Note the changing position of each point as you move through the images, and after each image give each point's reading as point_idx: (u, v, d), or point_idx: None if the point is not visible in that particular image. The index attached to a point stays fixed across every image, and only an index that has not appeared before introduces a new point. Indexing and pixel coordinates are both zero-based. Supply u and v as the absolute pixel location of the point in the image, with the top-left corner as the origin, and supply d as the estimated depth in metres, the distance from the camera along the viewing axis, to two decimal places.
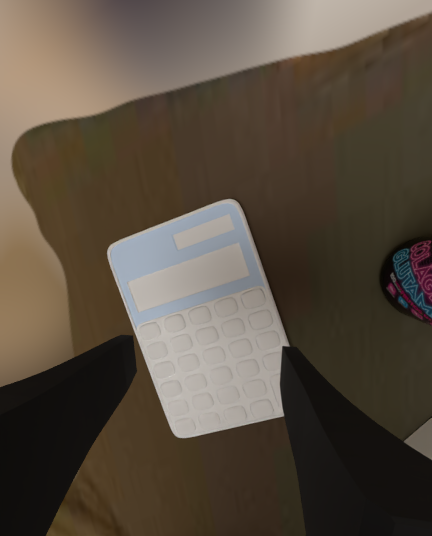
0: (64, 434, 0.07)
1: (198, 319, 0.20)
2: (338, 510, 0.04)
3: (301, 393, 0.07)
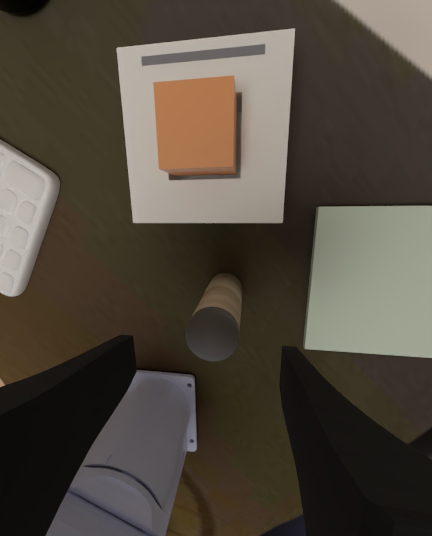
0: (64, 434, 0.07)
1: None
2: (338, 510, 0.04)
3: (301, 393, 0.07)
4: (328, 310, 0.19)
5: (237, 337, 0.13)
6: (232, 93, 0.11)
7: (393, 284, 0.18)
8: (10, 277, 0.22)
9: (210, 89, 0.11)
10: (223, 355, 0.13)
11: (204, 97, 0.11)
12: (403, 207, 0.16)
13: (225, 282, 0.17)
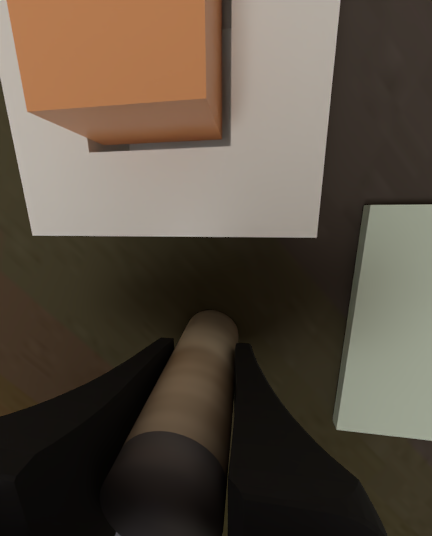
0: (124, 442, 0.07)
1: None
2: None
3: (236, 387, 0.08)
4: (378, 374, 0.12)
5: (220, 522, 0.05)
6: None
7: None
8: None
9: None
10: None
11: None
12: None
13: (207, 337, 0.10)
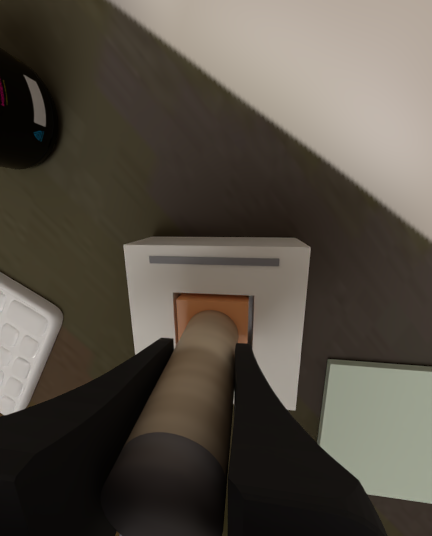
0: (124, 442, 0.07)
1: None
2: None
3: (236, 387, 0.08)
4: (339, 455, 0.18)
5: (220, 521, 0.05)
6: (247, 315, 0.13)
7: (407, 438, 0.17)
8: (11, 402, 0.21)
9: (227, 310, 0.13)
10: None
11: None
12: (418, 372, 0.16)
13: (207, 337, 0.10)
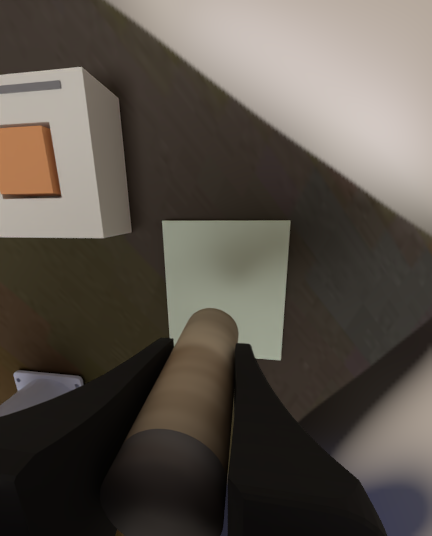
0: None
1: None
2: None
3: (236, 387, 0.08)
4: (185, 316, 0.20)
5: (220, 516, 0.05)
6: (42, 138, 0.14)
7: (236, 292, 0.19)
8: None
9: (26, 135, 0.15)
10: None
11: (23, 141, 0.15)
12: (233, 222, 0.18)
13: (206, 334, 0.10)
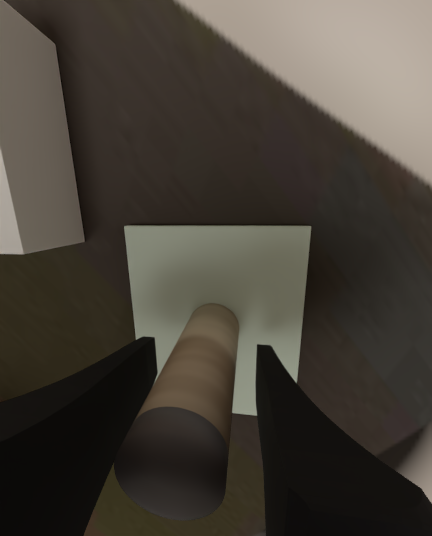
0: (96, 438, 0.07)
1: None
2: (278, 501, 0.04)
3: (265, 390, 0.07)
4: (161, 357, 0.15)
5: (222, 482, 0.06)
6: None
7: None
8: None
9: None
10: (196, 512, 0.06)
11: None
12: (226, 228, 0.12)
13: (208, 327, 0.11)
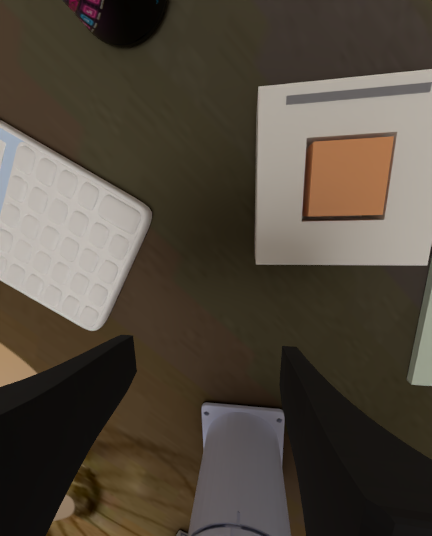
0: (64, 434, 0.07)
1: (9, 219, 0.20)
2: (338, 510, 0.04)
3: (301, 393, 0.07)
4: None
5: None
6: (390, 151, 0.12)
7: None
8: (95, 312, 0.21)
9: (369, 147, 0.12)
10: None
11: (362, 154, 0.12)
12: None
13: None
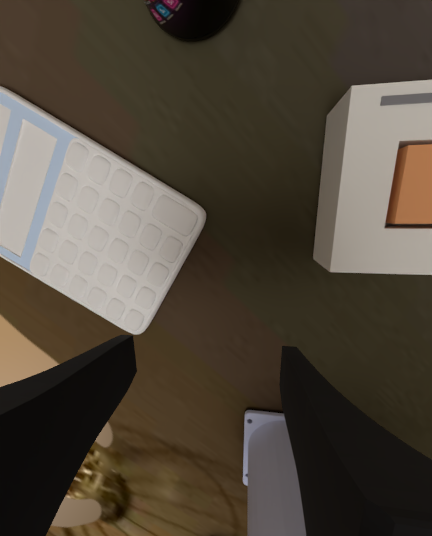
0: (64, 434, 0.07)
1: (56, 218, 0.19)
2: (338, 510, 0.04)
3: (301, 393, 0.07)
4: None
5: None
6: None
7: None
8: (141, 315, 0.20)
9: None
10: None
11: None
12: None
13: None
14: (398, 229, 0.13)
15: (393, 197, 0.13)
